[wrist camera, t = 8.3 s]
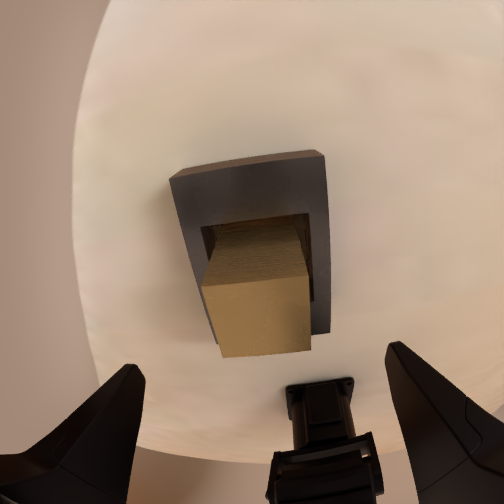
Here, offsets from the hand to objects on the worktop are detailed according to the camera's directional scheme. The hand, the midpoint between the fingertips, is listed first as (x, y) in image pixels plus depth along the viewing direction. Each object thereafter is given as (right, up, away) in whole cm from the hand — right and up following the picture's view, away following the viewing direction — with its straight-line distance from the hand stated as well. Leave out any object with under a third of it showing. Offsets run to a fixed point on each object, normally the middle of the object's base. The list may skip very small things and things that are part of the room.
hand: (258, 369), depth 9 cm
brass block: (0, +4, +9) cm, 10 cm away
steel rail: (0, +4, +9) cm, 10 cm away
